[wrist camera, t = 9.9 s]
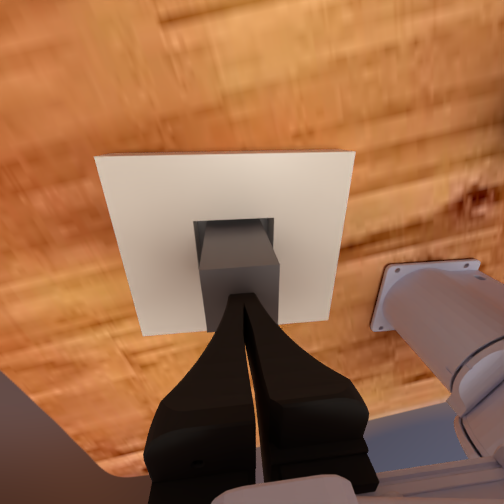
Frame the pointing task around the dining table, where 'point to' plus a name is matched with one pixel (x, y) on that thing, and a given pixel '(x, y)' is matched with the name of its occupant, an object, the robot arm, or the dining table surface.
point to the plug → (237, 267)
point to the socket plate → (225, 208)
